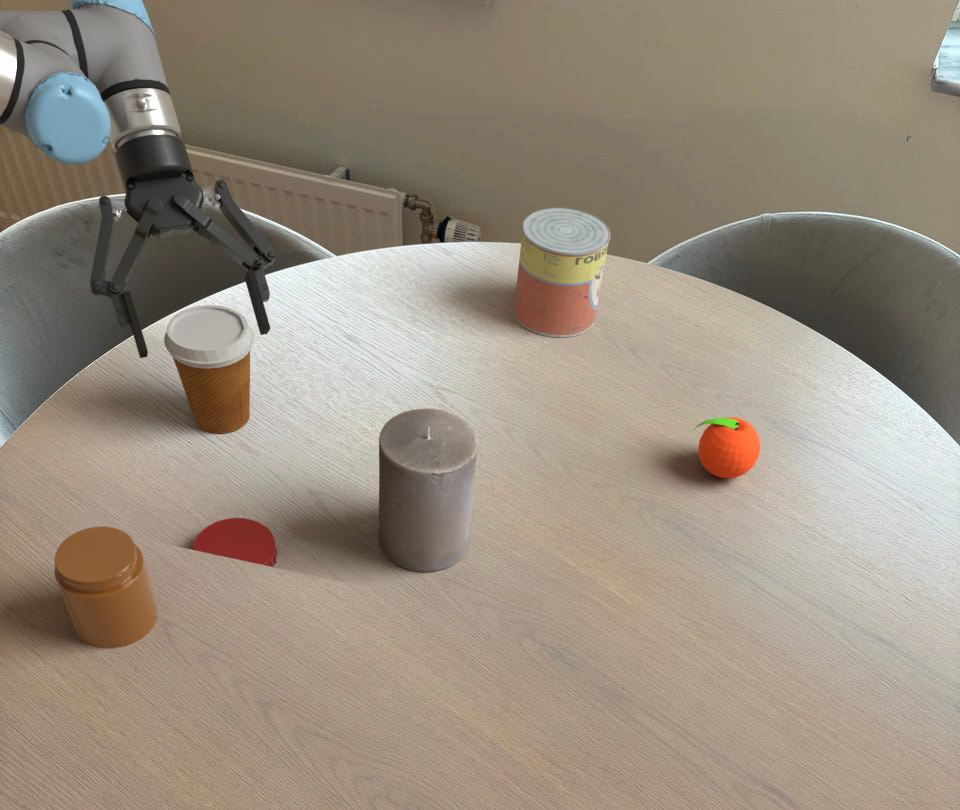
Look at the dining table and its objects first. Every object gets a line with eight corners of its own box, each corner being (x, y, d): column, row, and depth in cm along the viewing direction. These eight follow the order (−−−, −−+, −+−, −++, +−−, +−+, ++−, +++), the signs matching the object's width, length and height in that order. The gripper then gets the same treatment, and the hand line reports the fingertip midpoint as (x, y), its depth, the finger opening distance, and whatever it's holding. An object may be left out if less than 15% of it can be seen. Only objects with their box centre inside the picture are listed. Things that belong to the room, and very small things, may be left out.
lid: (258, 595, 98) (256, 583, 97) (181, 576, 99) (178, 564, 98) (289, 540, 103) (287, 527, 102) (216, 522, 104) (213, 509, 103)
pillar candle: (364, 523, 106) (361, 410, 94) (446, 499, 109) (452, 387, 97) (402, 584, 101) (403, 473, 89) (486, 557, 104) (498, 446, 92)
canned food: (588, 344, 130) (603, 260, 120) (505, 328, 131) (513, 243, 122) (601, 299, 137) (616, 216, 128) (522, 284, 138) (532, 201, 129)
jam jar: (64, 651, 92) (33, 575, 84) (101, 593, 97) (75, 515, 89) (140, 668, 92) (116, 593, 84) (174, 609, 96) (154, 532, 88)
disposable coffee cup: (249, 448, 112) (236, 359, 103) (168, 435, 113) (148, 345, 103) (273, 398, 118) (263, 309, 109) (196, 386, 119) (180, 297, 109)
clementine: (677, 479, 114) (692, 430, 108) (689, 443, 118) (703, 394, 113) (745, 497, 113) (763, 449, 107) (754, 460, 117) (772, 412, 111)
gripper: (24, 146, 98) (89, 358, 102) (266, 117, 106) (319, 314, 110) (30, 174, 105) (91, 372, 109) (256, 145, 113) (307, 330, 117)
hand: (206, 343), depth 109 cm, fingers open, 13 cm apart
